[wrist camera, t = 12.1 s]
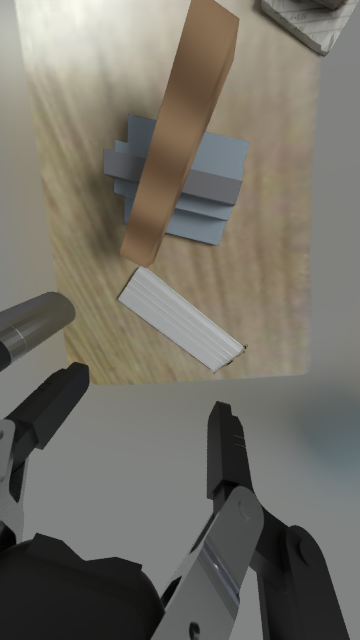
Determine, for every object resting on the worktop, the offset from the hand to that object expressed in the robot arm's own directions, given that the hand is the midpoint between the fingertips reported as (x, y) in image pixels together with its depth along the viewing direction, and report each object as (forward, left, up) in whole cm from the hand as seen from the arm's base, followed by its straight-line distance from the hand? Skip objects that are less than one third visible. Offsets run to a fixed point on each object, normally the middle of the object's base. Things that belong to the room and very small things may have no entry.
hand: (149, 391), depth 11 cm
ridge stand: (+4, +14, -30) cm, 33 cm away
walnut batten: (+4, +14, -21) cm, 26 cm away
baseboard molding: (-7, -10, -31) cm, 33 cm away
